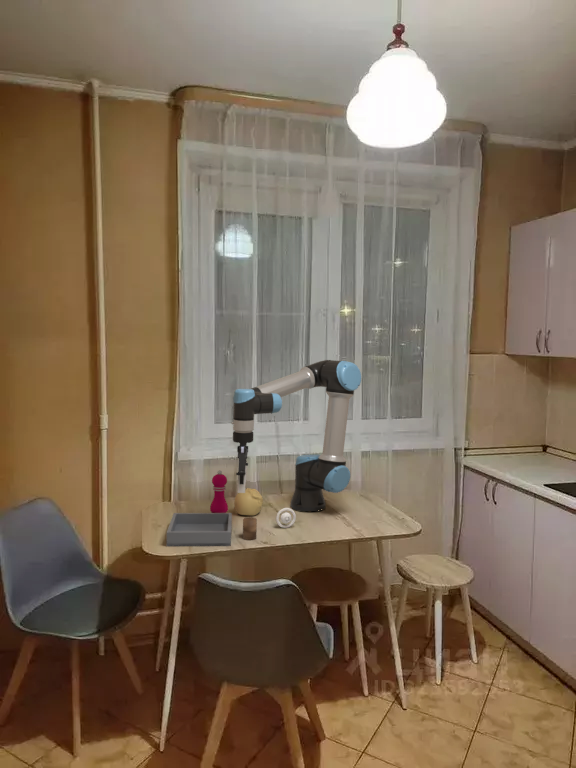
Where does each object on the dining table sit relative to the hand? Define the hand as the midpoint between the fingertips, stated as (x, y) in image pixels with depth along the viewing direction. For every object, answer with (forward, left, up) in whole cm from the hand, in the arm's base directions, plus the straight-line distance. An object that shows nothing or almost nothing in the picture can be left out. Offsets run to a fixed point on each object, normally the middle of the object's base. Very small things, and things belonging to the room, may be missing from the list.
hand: (241, 487), depth 219 cm
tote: (+15, 0, -18) cm, 23 cm away
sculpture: (-3, -26, -18) cm, 32 cm away
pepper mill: (+9, -19, -18) cm, 28 cm away
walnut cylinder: (-3, +3, -18) cm, 19 cm away
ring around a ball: (-17, -9, -18) cm, 27 cm away
